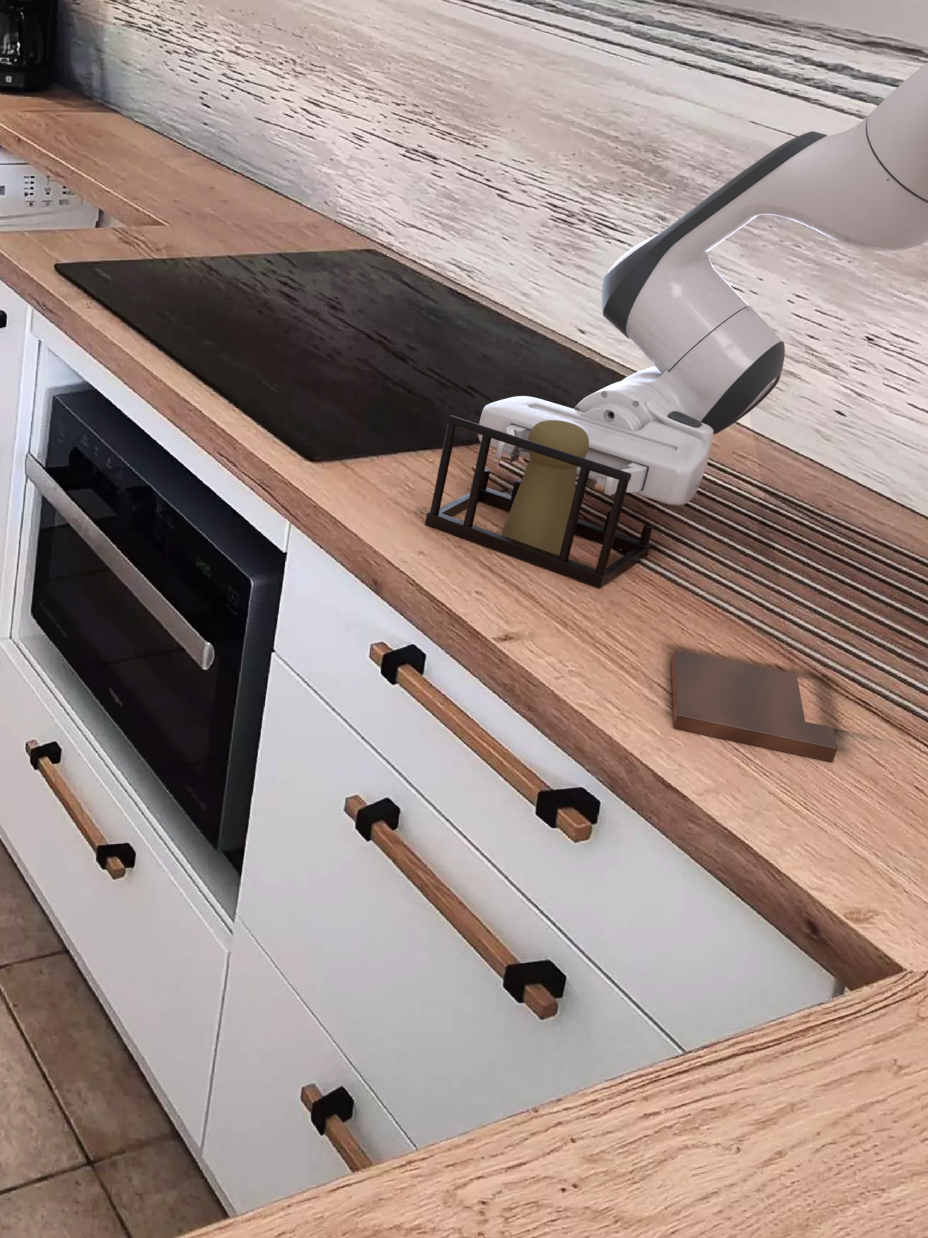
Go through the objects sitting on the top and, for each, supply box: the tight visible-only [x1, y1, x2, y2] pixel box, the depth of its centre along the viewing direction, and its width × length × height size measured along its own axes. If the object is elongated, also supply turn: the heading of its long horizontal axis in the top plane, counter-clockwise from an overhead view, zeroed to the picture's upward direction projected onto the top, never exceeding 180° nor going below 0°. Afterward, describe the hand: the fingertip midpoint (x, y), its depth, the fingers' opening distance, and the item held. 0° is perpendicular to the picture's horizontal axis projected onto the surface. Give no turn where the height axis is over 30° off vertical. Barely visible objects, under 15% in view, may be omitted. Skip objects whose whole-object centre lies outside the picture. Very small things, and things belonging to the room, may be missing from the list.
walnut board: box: [670, 649, 838, 763], centre depth 124 cm, size 11×11×1 cm
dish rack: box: [424, 415, 654, 589], centre depth 147 cm, size 10×17×10 cm, turn 51°
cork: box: [501, 420, 589, 555], centre depth 147 cm, size 6×6×11 cm
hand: (552, 468), depth 146 cm, fingers open, 8 cm apart
